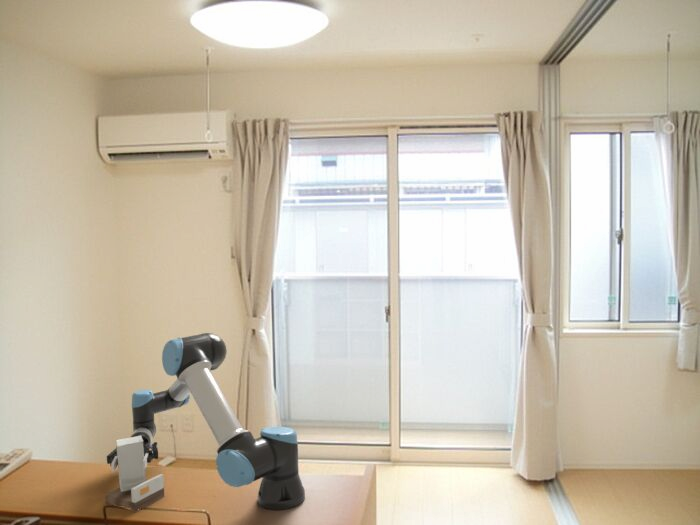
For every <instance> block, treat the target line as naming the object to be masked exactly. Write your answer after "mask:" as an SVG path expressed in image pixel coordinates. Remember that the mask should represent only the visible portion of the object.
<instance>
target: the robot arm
mask: <svg viewBox="0 0 700 525" xmlns="http://www.w3.org/2000/svg"><path fill="white" fill-rule="evenodd" d="M227 351H228V350H227V345H226V343H225V341H224V340H223V339H222V338H221V337H220V336H219V335H218V334H214V333H212V332H211V333H210V332H208V333H207V332H203V333H200V334H195V335H191V336H190V335H188V336H185V337H176V338H173V339H170V340H168V341H167V342H166V343H165V345H164V346H163V350H162V352H161V354H162V355H161V362H162V368H163V369H164V370H163V371H164V372H165V373H166V375H168V376H171V377H174V376H176V377H177V378H176V379H175V381H174V382H173V383H172V384H171V386H170V387H169V388H168V389H166V390H162V391H159V392H155V393H153V390H151V389H141V390H137V391H134V392H133V393H132V394H131V408H132V409H131V410H132V433H131V435H130V437H135V436H141V437H142V439H143V448H144V459H143V469H145V470H146V468H147V467H148V464H149V463H151V462H152V461H153V459H155V460H158V459H159V448H158V442H157V441H156V442H153V443H152V441H153V439H154V437H155V435H156V432H157V425H156V423H155V414H158V413H162V412H166V411H170V410H172V409H173V410H174V409H177V408H181V407H183V406H186V405H188V403H189V401H190V399H191V396H192V397H193V399H194V401H195V404H196V405H197V406H198V409H199V411H200V412H201V414H202V416H203V418H204V420H205V422H206V423H207V425H208V427H209V429H210V430H211V431H210V432H211V433H212V435H213V437H214V439H215V440H216V442H217V444H218V447H217V449H216V453H217V455H216V460H215V464H216V470H217V473H218V475H219V477H220V478H221V479H222V480H223V482H224V483H225V484H226V485H228V486H230V487H233V488H240V487H243V486H247V485H250V484H252V483H253V482H255V481H258V480H260V479H261V482H260V486H259V489H258V493H257V503H258V505H260V507H262V508H264V509H268V510H275V511H277V510H278V511H281V510H287V509H288V510H289V509H292V508H294V507H297V506H299V505H301V504H302V503H303V502H304V500H306V493H305V492H306V491H305V488H304V486H303V482H302V479H301V477H300V474H299V472H300V471H299V448H298V447H299V446H298V445H299V442H298V434H297V432H296V431H295V430H294V429H292V428H290V427H286V426H267V427H264V428H262V429H260V433H259V435H260V436H259V437H257V438H255V437H254V435H253V434H252V432H251V431H250V430H247V429H244V428H243V426H242V424H241V423H240V421H239V419H238V418H237V415H236V414H235V412H234V411H233V408H232V407H231V406H230V404H229V402H228V400H227V398H226V397H225V395H224V393H223V392H222V390H221V388H220V386H219V383H218V382H217V380H216V379H215V377H214V375H213V373H212V371H216V370H217V369H218V368H219V367H220V366H221V365H222V364H223V362H224V361H225V359H226V356H227ZM190 394H191V396H190ZM106 463H107V464H108V465H110V467H111V468H110V469H111V470H110V471H111V473H115V471H116V469H117V467H118V459H117V446H116V445H115V448H114V449H113V450H112V451H111V452H110V453H108V455H106Z"/></svg>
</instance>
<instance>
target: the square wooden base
mask: <svg viewBox="0 0 700 525" xmlns="http://www.w3.org/2000/svg"><path fill="white" fill-rule="evenodd" d="M104 496H105V498H104V500H105V504H106V505H109V506H112V505H114V507H116V506H124V507H128V508H131V509H130V510H132V511H131V512H133V511H134V513H136V512H139V511H138V509H140V508H142V509H144V508H146V507H148V506H150V505H151V504H154V503H155V502H157V501H159V500H160V499H163V498H164V497H165V482H164V474H162V473H160V474H158V475H155V476H153V477H151V478H150V479H148V480H147V479H146V481H145V482H143V483H141V484H139V485H137V486H135V487H133V488H131V490H127V491H123V492H121V490H120V487H118V488H116V489H113V490H112V491H110V492H108V493H105V494H104Z"/></svg>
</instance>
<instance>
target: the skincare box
mask: <svg viewBox="0 0 700 525" xmlns="http://www.w3.org/2000/svg"><path fill="white" fill-rule="evenodd" d="M115 441H116V442H115V444H116V445H115V447H116V446H117V459H118V465H117V467H118V468H117V471H118V481H119V488H120V490H121V492H123V491H127V490H131V488H133V487H135V486H137V485H139V484H141V483H143V482H145V481H147V475H146V469H143V459H144V457H145V456H144V448H143V439H142V437H141V436H135V437H131V436H130V437H126V438H120V439H116V440H115Z"/></svg>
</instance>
